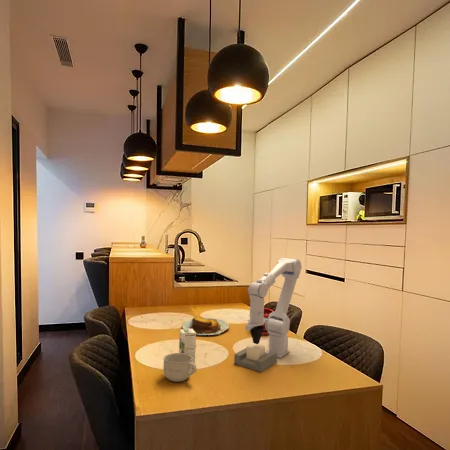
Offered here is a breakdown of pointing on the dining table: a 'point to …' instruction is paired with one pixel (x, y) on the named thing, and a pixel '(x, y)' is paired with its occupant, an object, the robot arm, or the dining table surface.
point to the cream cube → (255, 351)
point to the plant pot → (267, 318)
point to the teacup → (178, 366)
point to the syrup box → (187, 342)
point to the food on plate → (206, 325)
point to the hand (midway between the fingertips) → (256, 343)
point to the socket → (256, 365)
